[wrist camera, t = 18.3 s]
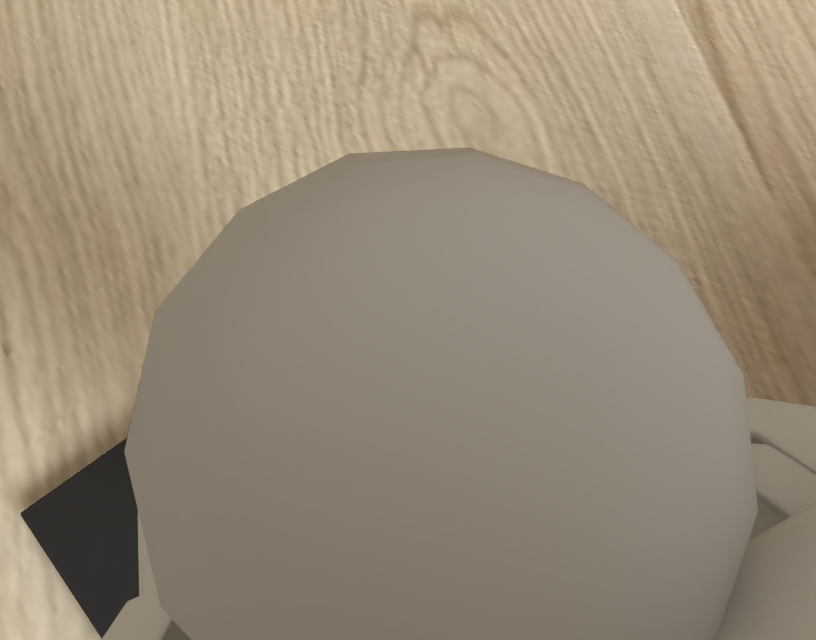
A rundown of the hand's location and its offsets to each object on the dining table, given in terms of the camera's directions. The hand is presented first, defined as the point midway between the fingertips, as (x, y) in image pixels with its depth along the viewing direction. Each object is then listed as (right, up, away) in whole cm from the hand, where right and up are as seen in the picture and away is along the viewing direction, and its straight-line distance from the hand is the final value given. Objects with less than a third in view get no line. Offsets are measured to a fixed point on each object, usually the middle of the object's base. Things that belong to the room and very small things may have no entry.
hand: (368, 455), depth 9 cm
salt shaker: (-1, -3, +7) cm, 8 cm away
